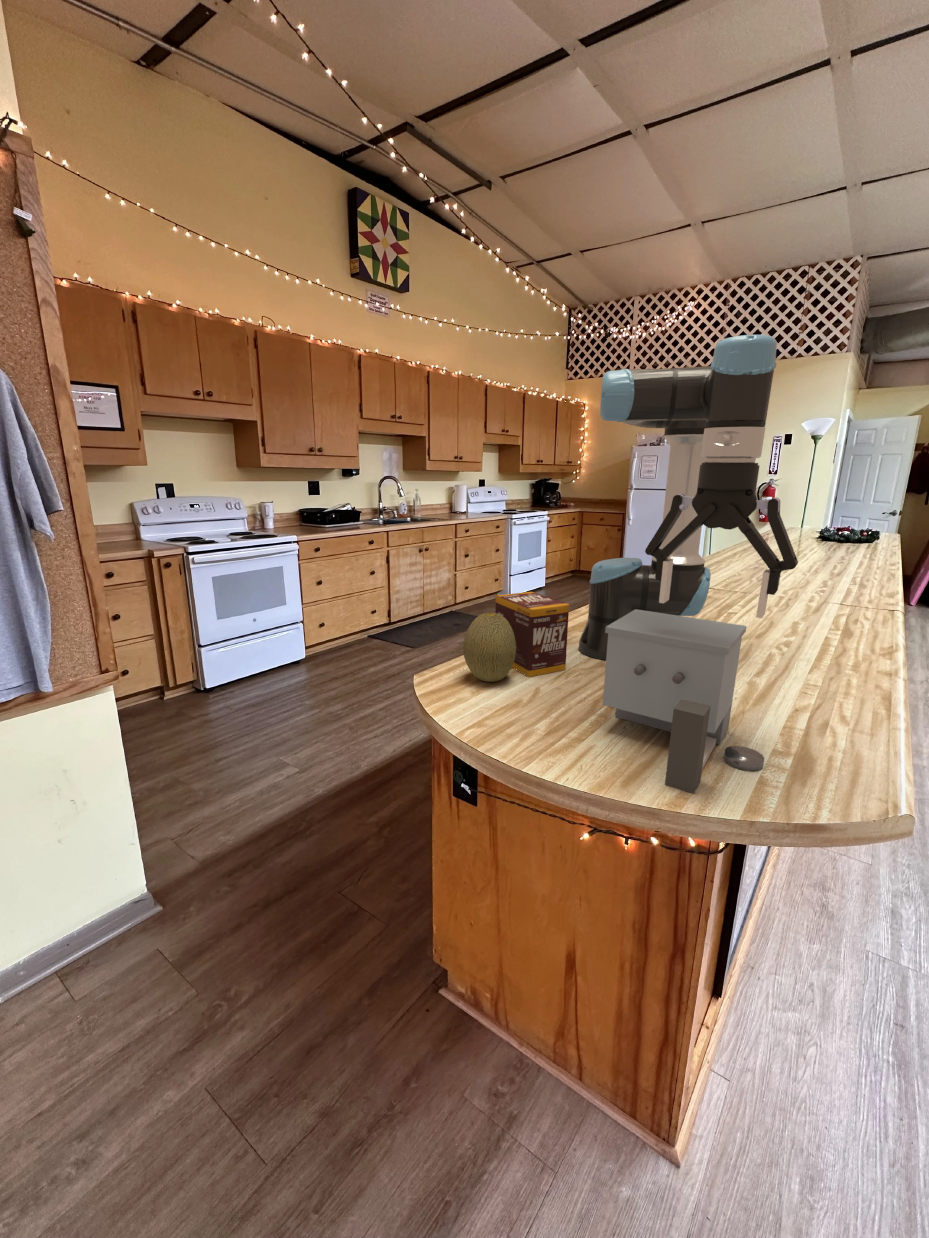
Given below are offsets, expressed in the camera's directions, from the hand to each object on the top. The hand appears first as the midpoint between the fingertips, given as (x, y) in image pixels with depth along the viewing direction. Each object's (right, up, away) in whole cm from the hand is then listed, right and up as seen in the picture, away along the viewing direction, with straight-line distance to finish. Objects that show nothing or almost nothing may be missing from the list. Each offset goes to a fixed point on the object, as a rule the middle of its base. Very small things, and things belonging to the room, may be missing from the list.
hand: (709, 608), depth 82 cm
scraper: (-1, -24, +3) cm, 24 cm away
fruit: (-31, -15, +37) cm, 51 cm away
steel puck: (+7, -24, +4) cm, 25 cm away
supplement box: (-22, -12, +47) cm, 53 cm away
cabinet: (-2, -21, +14) cm, 25 cm away
